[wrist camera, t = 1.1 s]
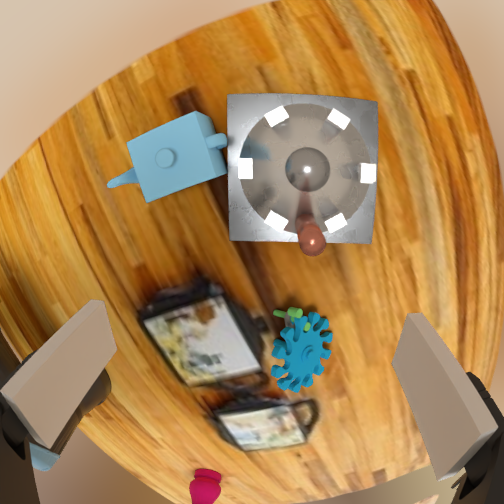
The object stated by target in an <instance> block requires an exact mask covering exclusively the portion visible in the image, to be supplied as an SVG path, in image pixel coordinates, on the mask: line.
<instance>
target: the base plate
mask: <svg viewBox="0 0 504 504" xmlns="http://www.w3.org/2000/svg"><path fill="white" fill-rule="evenodd" d="M303 103H307V104H316V105H320V106H324V107H326V108H329V109H331V110H332V109H333V108H334V109H336V110H337V111H339V112H340V113H342V114H343V115H345V116H346V117H348V118H349V119H351V120H350V121H349V122H350V123H351V124H352V125H353V126H354V127H355V128H356V129H357V131H358V132H359V133H360V135H361V136H362V138H363V140H364V142H365V144H366V147H367V149H368V153H369V156H370V163H371V164H374V173H373V184H372V183H370V184H369V188H368V191H367V194H366V197H365V199H364V200H363V202H362V204H361V206H360V207H359V208H358V210H357V211H356V212H355V213H354V214H353V215H352V216H351V218H349V219H348V220H347V221H346V223H347V225H345V226H343V227H341V228H339V229H337V230H335V231H334V232H332V233H330V232H329V231H326V232H323V235H324V237H325V239H326V243H361V244H371V243H372V234H373V224H374V213H375V201H376V186H377V164H378V103H377V102H376V101H369V100H362V99H354V98H345V97H335V96H323V95H308V94H280V93H256V94H228V95H227V130H228V198H229V236H230V241H279V242H299V240H298V236H297V234H295V233H290V232H287V231H284V230H282V232H280V231H279V230H277V229H275V228H274V227H272V226H270V225H268V224H267V223H265V222H264V221H265V220H264V219H263V218H262V217H261V216H260V215H258V213H257V212H256V211H255V210H254V209H253V208H252V206H251V205H250V203H249V202H248V200H247V198H246V196H245V194H244V192H243V189H242V186H241V182H240V179H239V168H238V159H239V158H240V153H241V149H242V146H243V143H244V141H245V139H246V137H247V135H248V134H249V132H250V131H251V129H252V128H253V127H254V126H255V124H256V123H257V122H258V121H259V120H261V119H262V118H263V117H264V115H265V114H267V113H269V112H271V111H273V110H274V109H276V108H278V107H280V106H283V107H284V106H287V105H292V104H303Z"/></svg>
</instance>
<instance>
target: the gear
mask: <svg viewBox="0 0 504 504" xmlns="http://www.w3.org/2000/svg"><path fill="white" fill-rule="evenodd" d="M273 314H274V315H275V316H279V317H282V318H284V319H285V326H286V327H285V328H284V329H283V330H282V331H281V332H280V334H281V337H283V338H284V339H285V340H286V342H284V341H282V340H279V339H275V340H274V343H273V345H274V346H275V347H274V349H273V351H272V354H271V355H272V356H273V357H276V358H278V359H282V358H283V359H284V360H285V364H284V366H283V367H280V366H278V365H273V366H272V369H271V375H272V376H274V377H276V378H280V377H281V376H282V375H283V374H285V373H287V372H289V373H288V376H287V377H285V378H280V379H279V380H278V381H277V384H278V386H279V388H281V389H283V390H284V391H285V390H286V389H287V388H288V389H290V390H291V391H294V392H297V393H298V392H299V390H300V387H301V385H303V386H305V387H309V386H311V385H312V384H313V379H312V374H313V373H314V374H316V375H320V374H321V373H322V372H323V371H324V367H323V366H322V365H321V363H320V356H321V358H324V359H328V358H329V356H330V354H331V350H329V349H325V348H323V347H322V343H323V341H325V342H328V343H330V342H331V341H332V334H333V333H330V332H324V333H323V334H322V335H320V331H321V330H322V329H327V328H328V327H329V322H328V320H327V319H325V318H320V315H319V314H317V313H315V312H310V313H309V315H308V318H307V317H306V316H302V314H303V311H302V309H299V308H295V307H290V308H289V309H288V311H287V312H283V311H280V310H274V312H273ZM317 322H318V323H317ZM316 323H317V325H316V326H315V327H314V328H313V326H314V324H316ZM285 351H286V352H285ZM295 378H296V379H295ZM294 379H295V380H294ZM293 380H294V381H293ZM292 381H293V382H292ZM291 382H292V383H291Z"/></svg>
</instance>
